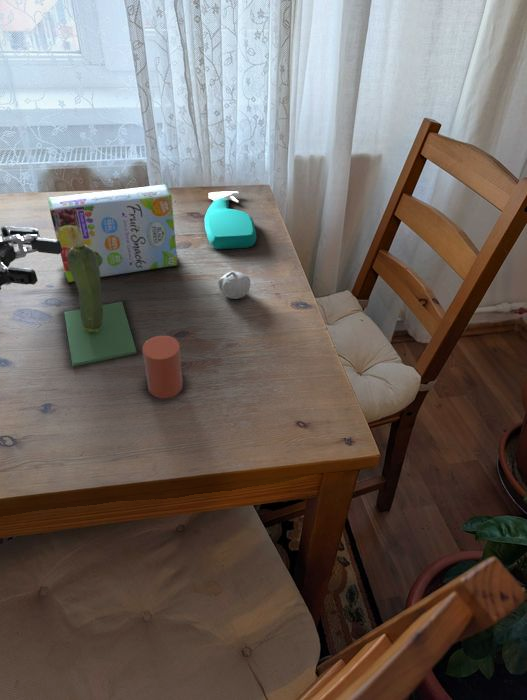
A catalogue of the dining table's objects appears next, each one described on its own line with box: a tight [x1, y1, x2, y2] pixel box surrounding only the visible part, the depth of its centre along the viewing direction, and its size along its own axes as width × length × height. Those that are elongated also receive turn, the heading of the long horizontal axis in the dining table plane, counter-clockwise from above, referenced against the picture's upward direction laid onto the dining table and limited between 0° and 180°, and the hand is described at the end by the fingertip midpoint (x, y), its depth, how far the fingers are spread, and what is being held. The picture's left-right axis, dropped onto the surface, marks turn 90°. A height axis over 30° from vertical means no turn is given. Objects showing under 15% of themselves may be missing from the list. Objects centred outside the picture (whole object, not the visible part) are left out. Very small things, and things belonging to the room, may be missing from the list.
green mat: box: [63, 301, 138, 367], centre depth 88 cm, size 14×10×1 cm
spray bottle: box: [204, 190, 257, 250], centre depth 118 cm, size 3×11×24 cm
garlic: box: [217, 270, 252, 300], centre depth 96 cm, size 6×5×5 cm
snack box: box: [47, 184, 178, 283], centre depth 98 cm, size 21×6×15 cm, turn 110°
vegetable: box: [67, 226, 104, 333], centre depth 81 cm, size 4×4×20 cm
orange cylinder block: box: [141, 334, 184, 399], centre depth 77 cm, size 5×5×8 cm
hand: (48, 261), depth 79 cm, fingers open, 8 cm apart
